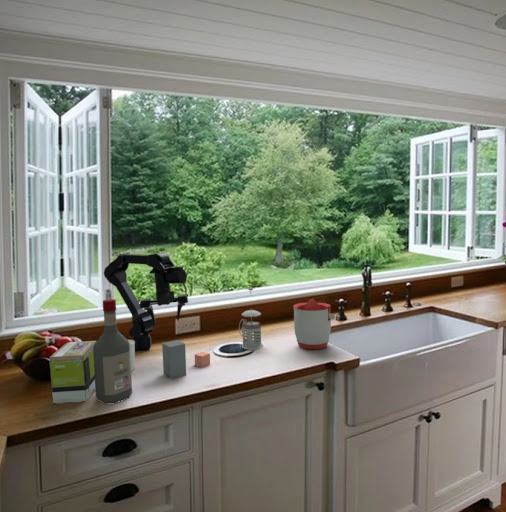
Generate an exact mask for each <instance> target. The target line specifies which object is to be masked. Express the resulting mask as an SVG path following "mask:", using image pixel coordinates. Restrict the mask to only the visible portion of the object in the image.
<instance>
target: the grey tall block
mask: <svg viewBox="0 0 506 512" xmlns="http://www.w3.org/2000/svg"><path fill="white" fill-rule="evenodd" d="M161 347H162V367H163V369H162V371H163V375H165V376H166V377H167V376H168V377H167V378H169V379H171V378H172V379H176V378H179V376H180V377H182V376H186V375H187V363H186V362H187V361H186V360H187V359H186V357H187V356H186V343H185V342H182V341H180V340H178V339H175V340H171V341H167V342H162V344H161Z"/></svg>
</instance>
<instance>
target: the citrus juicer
mask: <svg viewBox="0 0 506 512" xmlns="http://www.w3.org/2000/svg"><path fill="white" fill-rule="evenodd" d="M292 307H293V327H294V334H295V339H296V342H297V344H298V346H299V347H300V348H301V349H308V350H322V349H325V348H326V347H327V346H328V343H329V342H330V341H329V339H330V336H331V330H332V329H331V328H332V323H331V322H332V321H333V320H334V321H336V319H337V318H336V315H335V314H333V313H332V307H331V304H328V303H326V302H317V300H315V299H314V298H310V299H309V300H308V301H307V302H306V301H305V302H298V303H295V304H293V306H292Z"/></svg>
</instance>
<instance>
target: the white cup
mask: <svg viewBox="0 0 506 512" xmlns="http://www.w3.org/2000/svg"><path fill="white" fill-rule="evenodd" d="M127 340H128V341H129V343H130V358H131V372H132V371H134V370H135V360H136V359H135V357H136V351H135V341H134V340H133V339H127Z"/></svg>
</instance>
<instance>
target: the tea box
mask: <svg viewBox="0 0 506 512" xmlns="http://www.w3.org/2000/svg"><path fill="white" fill-rule="evenodd" d="M97 341H98V340H87V341H86V340H85V341H71V342H70V341H69V342H68V341H67V342H66V343H65V344H63V345H62V346H61V347H60V348H59V349H57V350H56V351H55V352H54V353H53V354H52V355H50V356H49V368H50V369H49V370H50V379H51V383H50V384H51V391H52V392H51V393H52V394H51V395H52V402H53V404H54V403H56V404H62V403H61V402H73V403H81V402H80V401H85V402H87V401H88V400H87V399H89V398H90V397H91V396H92V394H93V393H94V391H96V390H95V373H94V356H93V347H94V344H95V343H96V342H97Z"/></svg>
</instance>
